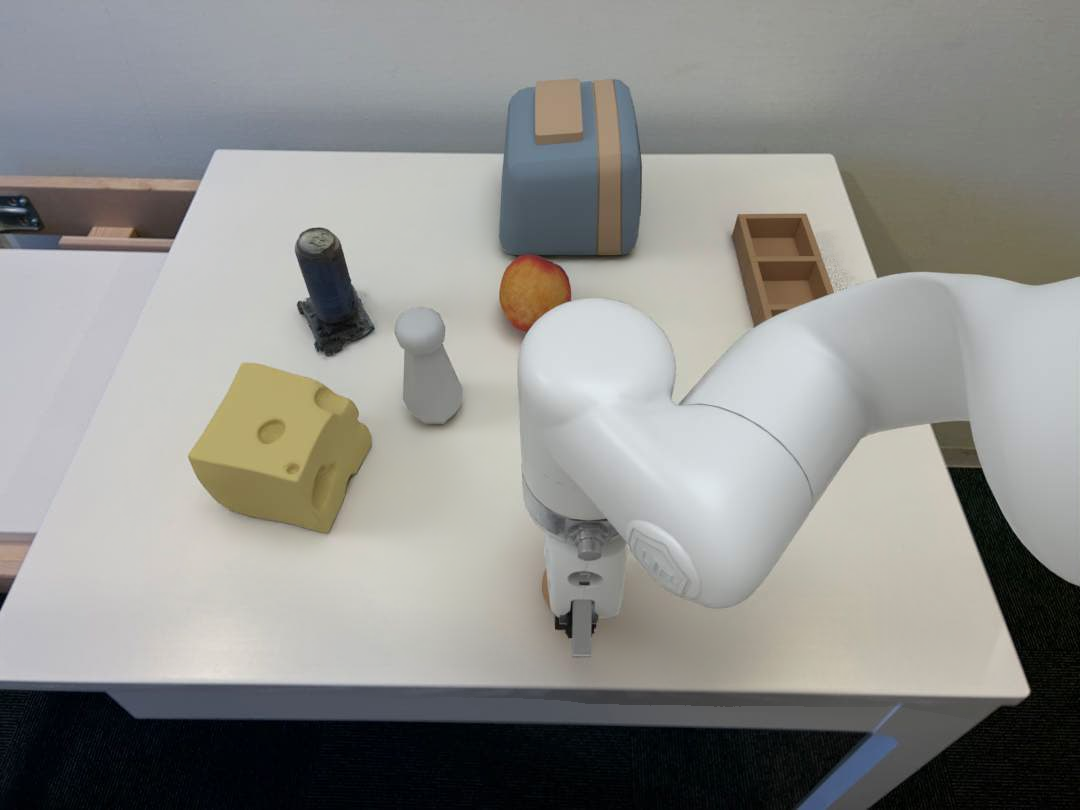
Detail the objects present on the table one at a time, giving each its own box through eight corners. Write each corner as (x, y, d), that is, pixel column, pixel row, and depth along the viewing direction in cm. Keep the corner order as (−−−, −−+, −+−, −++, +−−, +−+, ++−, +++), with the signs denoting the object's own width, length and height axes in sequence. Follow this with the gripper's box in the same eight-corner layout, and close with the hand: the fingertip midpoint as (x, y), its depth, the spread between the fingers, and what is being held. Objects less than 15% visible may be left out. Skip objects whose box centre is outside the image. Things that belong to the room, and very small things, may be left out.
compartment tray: (847, 383, 72) (859, 363, 69) (768, 384, 72) (777, 363, 69) (797, 235, 85) (806, 213, 82) (731, 236, 85) (737, 213, 82)
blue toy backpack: (637, 263, 82) (655, 143, 69) (499, 263, 82) (491, 143, 69) (627, 176, 92) (641, 57, 79) (503, 176, 92) (497, 57, 79)
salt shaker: (398, 425, 69) (372, 338, 58) (418, 380, 72) (397, 290, 61) (455, 437, 68) (439, 351, 57) (472, 391, 71) (460, 302, 61)
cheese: (375, 443, 68) (352, 380, 59) (328, 543, 62) (296, 488, 53) (277, 421, 69) (241, 357, 61) (222, 516, 63) (175, 459, 55)
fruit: (585, 312, 78) (589, 258, 71) (542, 357, 74) (541, 305, 67) (529, 282, 80) (528, 228, 74) (484, 324, 77) (479, 271, 70)
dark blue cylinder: (387, 328, 76) (365, 243, 67) (324, 362, 74) (291, 279, 64) (346, 282, 80) (319, 196, 71) (285, 312, 78) (248, 227, 68)
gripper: (663, 619, 37) (628, 701, 51) (635, 365, 46) (612, 495, 61) (520, 621, 37) (526, 702, 51) (522, 366, 46) (527, 496, 61)
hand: (573, 588), depth 56 cm, fingers closed on egg, 5 cm apart
